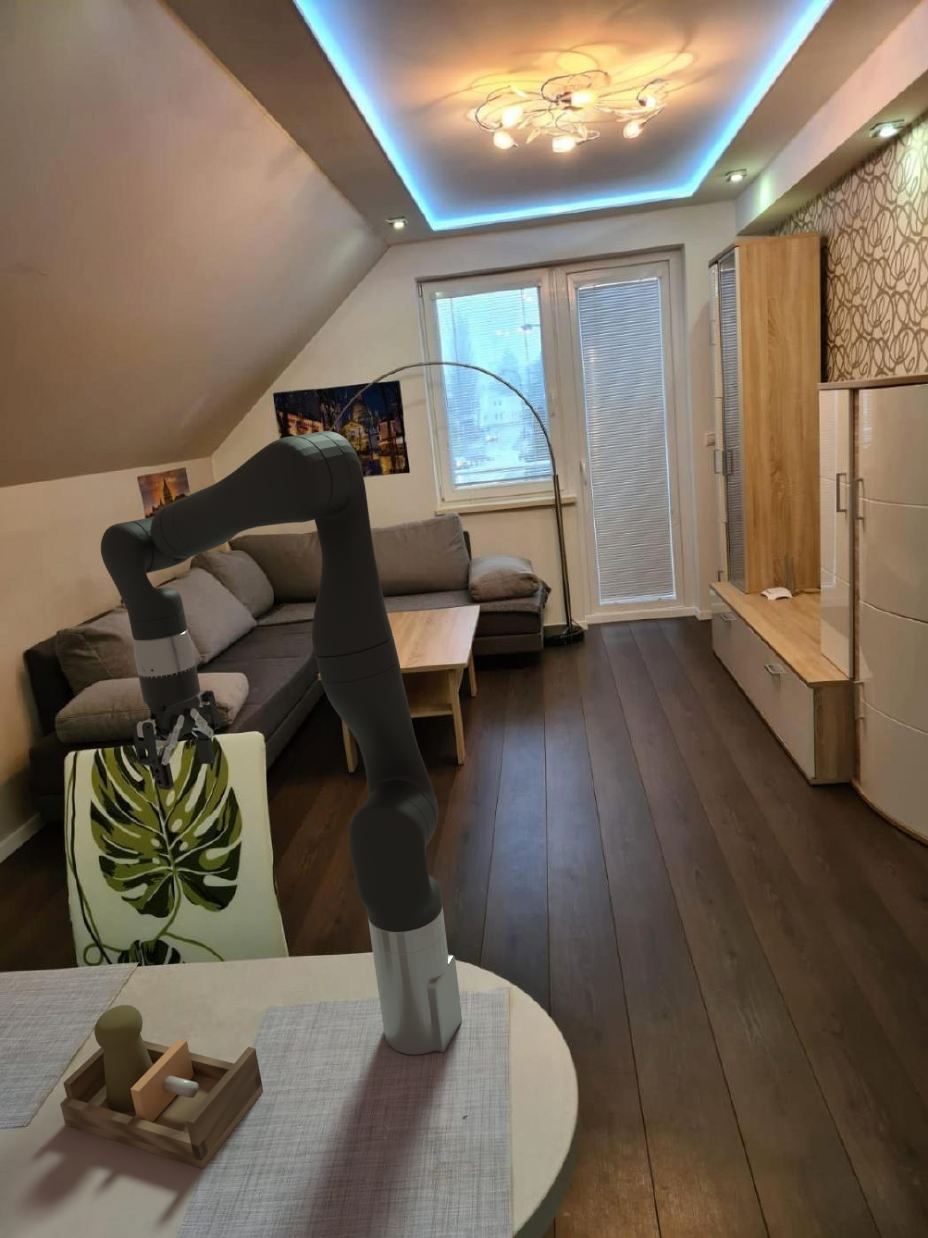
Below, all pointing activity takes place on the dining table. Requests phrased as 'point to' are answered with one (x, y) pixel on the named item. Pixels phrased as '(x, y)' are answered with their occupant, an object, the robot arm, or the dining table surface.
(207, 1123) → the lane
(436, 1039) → the robot arm
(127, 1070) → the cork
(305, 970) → the dining table surface
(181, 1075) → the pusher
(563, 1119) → the dining table surface
